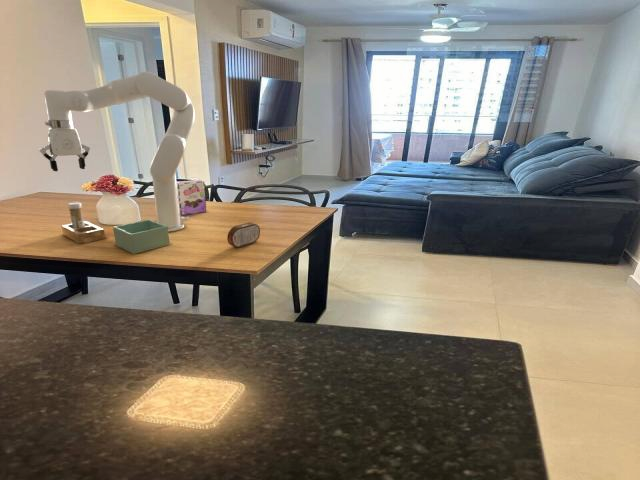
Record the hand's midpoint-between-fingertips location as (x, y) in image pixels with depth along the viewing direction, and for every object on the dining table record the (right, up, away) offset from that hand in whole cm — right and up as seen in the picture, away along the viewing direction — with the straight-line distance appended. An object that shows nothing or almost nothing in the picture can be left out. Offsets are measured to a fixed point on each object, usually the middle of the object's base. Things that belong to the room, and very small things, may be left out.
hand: (69, 169), depth 151 cm
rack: (+2, -27, +6) cm, 27 cm away
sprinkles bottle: (-1, -26, +8) cm, 27 cm away
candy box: (+33, -14, +46) cm, 58 cm away
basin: (+30, -30, -2) cm, 43 cm away
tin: (+70, -30, +1) cm, 76 cm away
